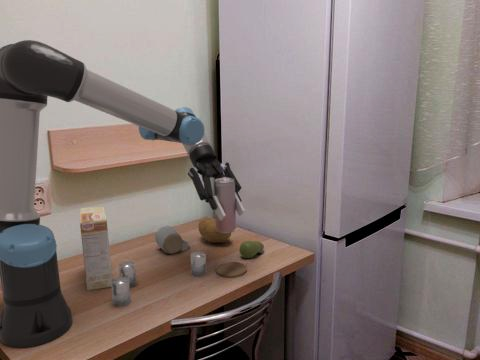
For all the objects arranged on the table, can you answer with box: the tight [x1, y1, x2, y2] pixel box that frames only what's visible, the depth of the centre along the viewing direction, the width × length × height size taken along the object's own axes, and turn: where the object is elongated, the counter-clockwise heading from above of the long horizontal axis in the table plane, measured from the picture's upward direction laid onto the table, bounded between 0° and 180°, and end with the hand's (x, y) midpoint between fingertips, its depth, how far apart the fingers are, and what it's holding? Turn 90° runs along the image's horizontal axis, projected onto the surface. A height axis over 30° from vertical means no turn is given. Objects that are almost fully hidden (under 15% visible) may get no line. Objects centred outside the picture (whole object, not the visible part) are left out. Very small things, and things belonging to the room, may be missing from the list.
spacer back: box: [118, 260, 137, 289], centre depth 118 cm, size 4×4×6 cm
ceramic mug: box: [154, 225, 191, 255], centre depth 143 cm, size 11×8×8 cm
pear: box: [239, 240, 265, 259], centre depth 138 cm, size 6×5×10 cm
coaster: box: [215, 261, 247, 278], centre depth 126 cm, size 9×9×1 cm
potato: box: [197, 217, 232, 244], centre depth 150 cm, size 10×14×8 cm
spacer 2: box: [190, 250, 207, 278], centre depth 125 cm, size 4×4×6 cm
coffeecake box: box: [79, 205, 113, 291], centre depth 121 cm, size 15×7×20 cm, turn 20°
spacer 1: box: [110, 276, 132, 307], centre depth 108 cm, size 4×4×6 cm
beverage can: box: [213, 178, 237, 234], centre depth 122 cm, size 6×6×15 cm
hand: (232, 215), depth 119 cm, fingers closed on beverage can, 6 cm apart
